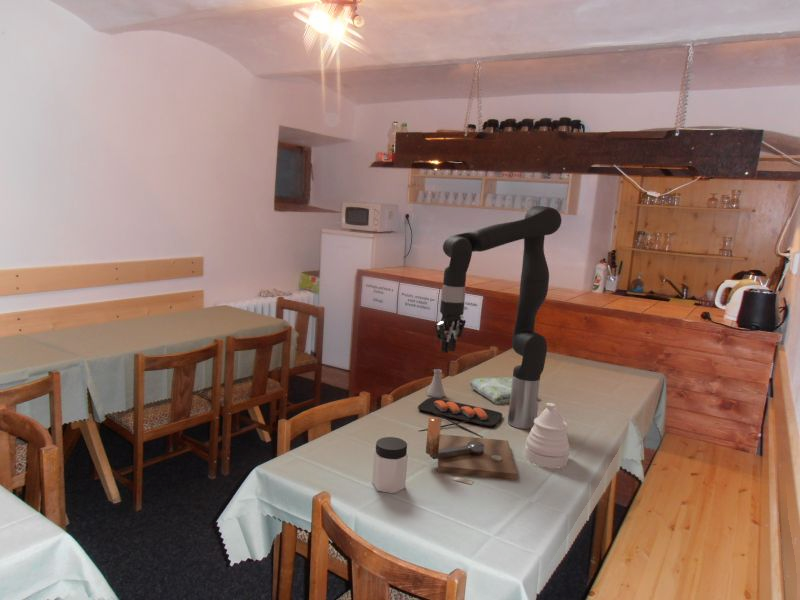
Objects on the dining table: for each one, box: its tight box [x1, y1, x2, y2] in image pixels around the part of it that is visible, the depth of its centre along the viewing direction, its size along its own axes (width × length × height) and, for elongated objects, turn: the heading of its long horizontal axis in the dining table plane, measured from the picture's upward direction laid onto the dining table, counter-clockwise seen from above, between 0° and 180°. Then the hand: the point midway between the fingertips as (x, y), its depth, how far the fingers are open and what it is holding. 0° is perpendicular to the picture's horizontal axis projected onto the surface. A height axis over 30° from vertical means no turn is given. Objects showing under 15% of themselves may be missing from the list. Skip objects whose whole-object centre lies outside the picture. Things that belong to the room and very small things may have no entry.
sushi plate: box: [417, 397, 503, 438], centre depth 200 cm, size 29×30×4 cm
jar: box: [371, 436, 409, 494], centre depth 152 cm, size 9×8×12 cm
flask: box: [426, 368, 446, 399], centre depth 224 cm, size 7×7×10 cm
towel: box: [469, 376, 513, 405], centre depth 231 cm, size 18×21×5 cm
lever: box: [425, 416, 484, 460], centre depth 168 cm, size 19×5×12 cm, turn 116°
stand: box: [437, 433, 518, 486], centre depth 170 cm, size 22×27×2 cm
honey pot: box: [524, 402, 570, 469], centre depth 174 cm, size 13×13×18 cm
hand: (448, 351), depth 187 cm, fingers open, 3 cm apart
